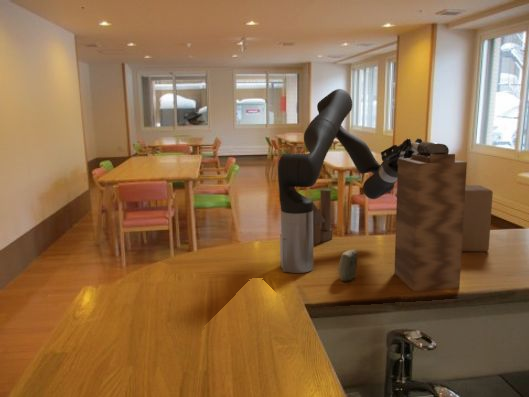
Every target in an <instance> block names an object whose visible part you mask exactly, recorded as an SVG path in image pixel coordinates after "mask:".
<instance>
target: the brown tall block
mask: <svg viewBox="0 0 529 397" xmlns="http://www.w3.org/2000/svg"><path fill="white" fill-rule="evenodd" d="M467 166H468V162H467V161H463V160H458V159H456V153H448V154H432V155H430V157H428V156H422V155H417V154H411V158H398V176H397V181H396V183H397V184H396V185H397V186H396V209H395V211H396V212H395V213H396V216H395V239H394V240H395V241H394V242H395V243H394V244H395V247H394V274H395V276H396V277H398V278H399V279H400V280H401V281H402V282H403V283H404V284H405V285H406V286H407V287H409V289H410V290H411V291H412V292H421V291H438V290H439V291H440V290H441V291H442V290H455V289H456V290H459V289H460V288H461V287H460V285H461V283H460V282H461V266H462V237H463V220H464V203H465V186H467V185H466V184H467V183H466V182H467Z"/></svg>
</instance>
